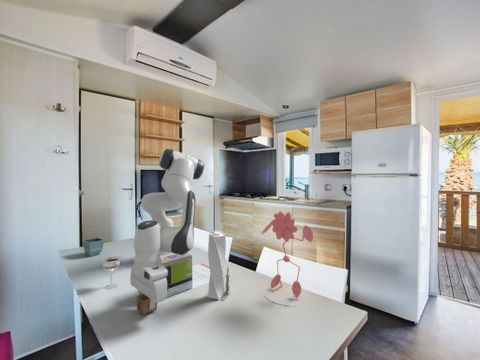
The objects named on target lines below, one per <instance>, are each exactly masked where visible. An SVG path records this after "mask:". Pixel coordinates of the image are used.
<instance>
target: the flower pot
mask: <svg viewBox="0 0 480 360" xmlns="http://www.w3.org/2000/svg"><path fill="white" fill-rule="evenodd" d="M104 244H105V240H104V239H103V238H99V237H95V238H89V239H88V238H87V239H83V240H82V247H83V251H84V253H85V254H86V255H87V256H89V257H94V256H98V255H100V254H101V252H102V251H103V249H104Z"/></svg>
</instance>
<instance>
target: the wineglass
mask: <svg viewBox="0 0 480 360" xmlns="http://www.w3.org/2000/svg"><path fill="white" fill-rule="evenodd" d="M120 258H121V257H119V256H109V257H108V256H107V257H106V258H103V259H102V261H103V263H102V268H103V269H104V270H105V272H109V274H110V283H109V284H107V285H105V286H104V288H105V289H107V290H111V289H112V290H113V289H115V288H118V285H119V284H117V283H113V273H114V271H116V270H117V269H118V268H119V267H120V265H121V261H120Z"/></svg>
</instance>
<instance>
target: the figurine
mask: <svg viewBox="0 0 480 360" xmlns="http://www.w3.org/2000/svg"><path fill="white" fill-rule="evenodd" d="M273 217H274V219H272V220H271V221H270V222H269V223H268V224H267V225H266V226H265V227H264V228H263V230H262V231H261V235H263V234H265V233H266V232H268V231H269V230H270V229H271V228H272V230H271V231H272V233H275V237H276V239H277V240H281V239H283V240H284V242H282V247H283V248H282V249H283V252H284V255H283V258H281V259H278V260H277V263H276V264H277V266H276V267H277V271H279V261H280V262H281V261H284V262H285V263H289V262H290V263H291V264H292V265H294V266H296V267H298V271H297V277H296V280H295V281H294V282H293V284H292V285H291V291H292V294H293V296H294V297H295V299H298V298H299V296H300V295H301V293H302V285H301V283H300V282H299V281H298V280H299V274H300V270H301V269H300V268H301V267H300V266H299V265H298V264H295V262H292V261H291V259H290V256H289V255H287V252H286V248H285V244H286V243H287V242H289V240H295V241H296V240H297V241H299V242H304V239H305V240H306V241H308V242H309V243H312V242H313V240H314V232H313V230H312V228H311V227H310V226H308V225H307V224H305V225H304V226H303V228H302V238H301V239H299V238H297V237H295V235H294V233H296V232H298V230H299V229H298V227H297V226H296V225H295V220H294V218H292V215H291V213H290V212H289V211H288V212H287V213H283V212H282V211H279V212H278V213H274V214H273ZM281 280H282V277H281V274H279V273H277V274H276V275H275V276H274V277H272V279H271V281H270V288H269V289H270V290H271V289H274V288H276V287H277V286H278V285H279V284H280V287H281V286H282V287H283V284H282V281H281ZM263 296H264V298H265V299H267V300H268V301H270V302H271V303H272V304H277V305H280V306H281V305H282V304H280V303H278V302H274V301H272V300H270V299H269V298H267V297H266V296H265V295H263ZM283 306H284V307H289V305H285V304H283Z"/></svg>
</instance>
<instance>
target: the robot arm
mask: <svg viewBox="0 0 480 360" xmlns="http://www.w3.org/2000/svg"><path fill="white" fill-rule="evenodd" d="M158 160H159V162H158V163H159V164H158V165H159V167H160V169H162V170H164V171H165V173H164V175H163V177H162V179H161V188H162V189H163V190H164V192H151V193H148V194H144V195H143V196H142V198H141V200H140V201H141V202H140V205H141V208H142V210H143V211H144V212H146V213H147V214H148V215H149V216H150V218H151V220H145V221H142V222H140V223H138V224H137V226H136V227H135V232H134V240H133V245H134V247H133V248H134V258H133V264H132V267H131V269H130V277H129V278H130V279H129V281H130V286H132V287H133V288H134V289H136V290H137V293H138V295H141V294H144V295H146V296H147V297H149V300H150V303H148V308H149V309H153V308H155V302H156V303H157V304H159V303H161V302H163V301H165V300H166V299H167V298H168V297H167V279H166V277H165V276H167V275H168V271H167V269H166V268H165V267H164V266H163V264H162V262H161V261H160V255H164V254H169V253H174V254H179V255H184V254H186V253H187V254H188V253H189V252H190V251H191V250H192V248H193V246H194V241H195V240H194V239H195V235H194V234H195V233H194V232H195V231H194V228H195V227H194V226H195V214H196V195H195V192H194V191H192V185H193V180H198V179H200V178H201V177H202V175H203V174H204V172H205V163H204V161H202V160H201V159H198V158H196V157H194V156H191V155H189V154H187V153H183V152H181V151H176V150H174V149H171V148H166V149H165V150H164V151H162V153H160V155H159V157H158ZM180 209H182V212H181V221H180V225H179V227H177V226H174V225H175V224H174V223H175V222H174V220H173V219H172V218H171V217H168V216H167V215H166V212H167V211H168V212H169V211H176V210H180ZM166 297H167V298H166Z"/></svg>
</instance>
